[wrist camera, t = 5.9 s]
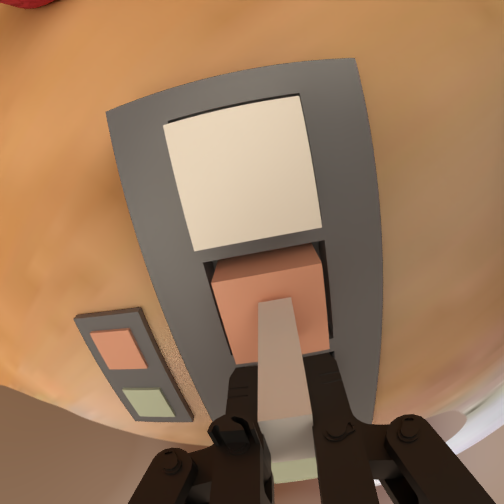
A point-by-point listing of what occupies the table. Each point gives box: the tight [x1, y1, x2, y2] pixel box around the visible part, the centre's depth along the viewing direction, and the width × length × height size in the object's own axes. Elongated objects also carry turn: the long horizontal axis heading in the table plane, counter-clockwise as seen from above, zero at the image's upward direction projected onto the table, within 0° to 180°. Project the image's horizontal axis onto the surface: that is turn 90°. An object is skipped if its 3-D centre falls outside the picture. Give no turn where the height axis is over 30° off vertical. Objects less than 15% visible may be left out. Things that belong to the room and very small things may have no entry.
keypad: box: [106, 58, 383, 424], centre depth 18 cm, size 30×12×3 cm, turn 11°
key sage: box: [271, 457, 318, 484], centre depth 19 cm, size 5×5×3 cm
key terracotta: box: [211, 243, 330, 364], centre depth 15 cm, size 5×5×3 cm
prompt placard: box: [74, 307, 194, 422], centre depth 21 cm, size 12×6×1 cm, turn 11°
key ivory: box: [163, 96, 322, 251], centre depth 12 cm, size 5×5×3 cm
